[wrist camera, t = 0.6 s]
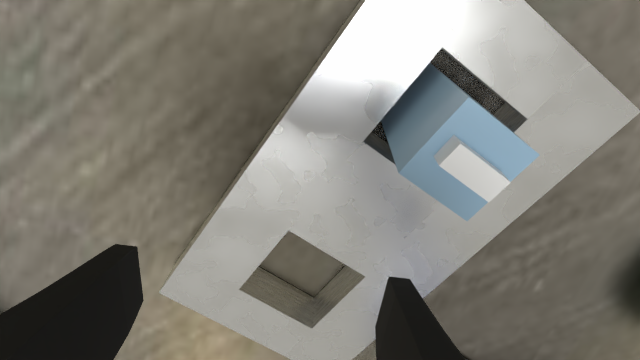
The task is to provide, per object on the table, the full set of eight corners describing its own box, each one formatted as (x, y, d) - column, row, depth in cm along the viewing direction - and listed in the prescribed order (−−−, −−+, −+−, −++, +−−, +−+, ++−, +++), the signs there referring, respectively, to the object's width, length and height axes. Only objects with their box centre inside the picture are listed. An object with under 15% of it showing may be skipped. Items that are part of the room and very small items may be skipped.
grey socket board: (603, 95, 18) (640, 111, 16) (329, 346, 27) (329, 378, 25) (415, -80, 16) (429, -90, 13) (174, 263, 24) (158, 292, 22)
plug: (482, 105, 19) (551, 164, 13) (432, 158, 20) (473, 233, 14) (429, 62, 18) (476, 103, 12) (380, 120, 19) (401, 183, 13)
